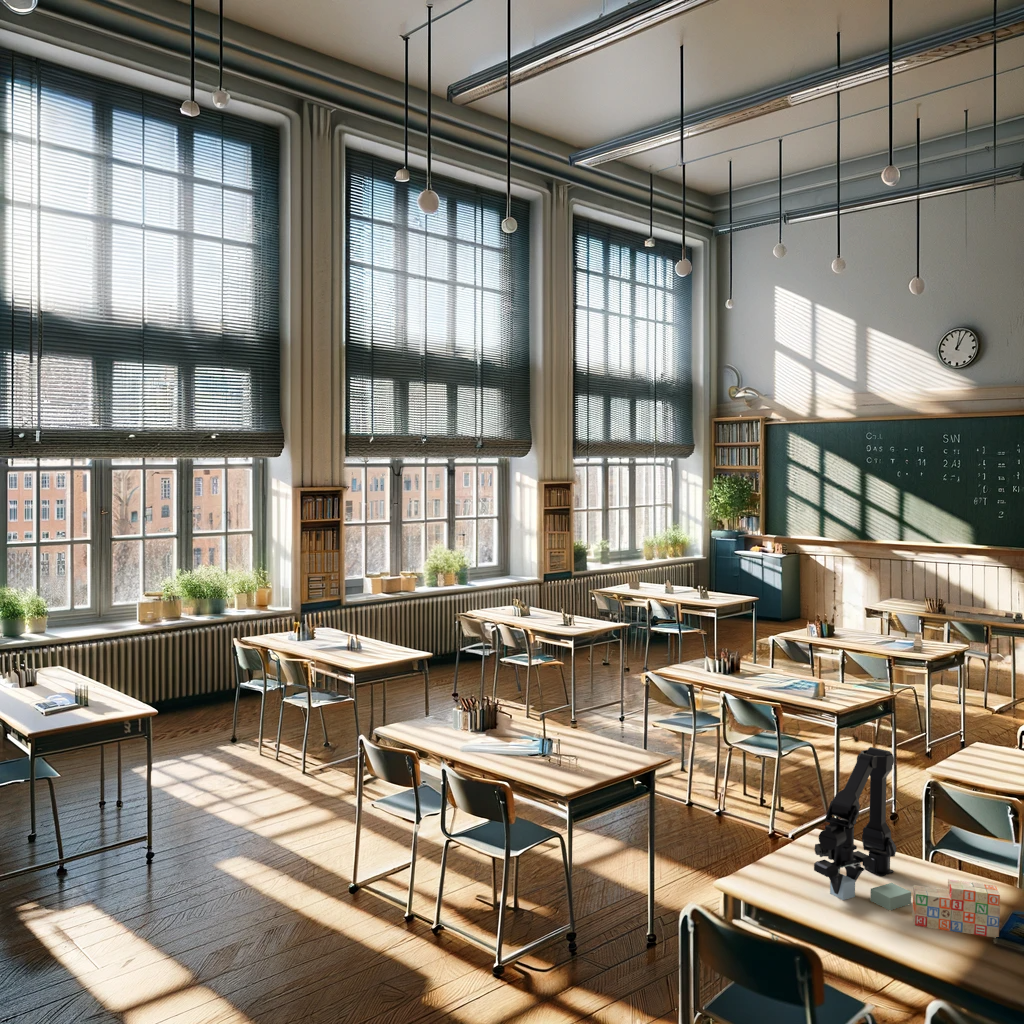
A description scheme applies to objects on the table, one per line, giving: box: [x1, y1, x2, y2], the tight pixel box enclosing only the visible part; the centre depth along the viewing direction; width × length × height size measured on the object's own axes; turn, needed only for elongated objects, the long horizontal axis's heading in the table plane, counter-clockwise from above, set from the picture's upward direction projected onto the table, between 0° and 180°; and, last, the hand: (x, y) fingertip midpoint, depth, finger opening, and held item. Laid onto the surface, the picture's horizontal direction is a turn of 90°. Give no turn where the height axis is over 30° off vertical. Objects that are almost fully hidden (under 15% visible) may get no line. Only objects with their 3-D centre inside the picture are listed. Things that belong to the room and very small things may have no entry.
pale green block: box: [869, 882, 912, 911], centre depth 275 cm, size 9×7×4 cm
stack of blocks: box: [912, 878, 1001, 939], centre depth 260 cm, size 21×6×12 cm, turn 72°
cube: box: [829, 873, 856, 901], centre depth 279 cm, size 5×5×5 cm
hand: (842, 891), depth 279 cm, fingers closed on cube, 5 cm apart
